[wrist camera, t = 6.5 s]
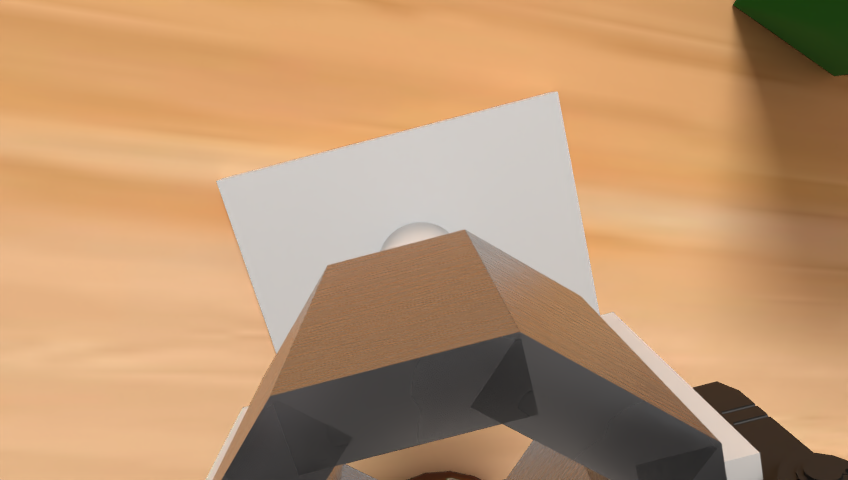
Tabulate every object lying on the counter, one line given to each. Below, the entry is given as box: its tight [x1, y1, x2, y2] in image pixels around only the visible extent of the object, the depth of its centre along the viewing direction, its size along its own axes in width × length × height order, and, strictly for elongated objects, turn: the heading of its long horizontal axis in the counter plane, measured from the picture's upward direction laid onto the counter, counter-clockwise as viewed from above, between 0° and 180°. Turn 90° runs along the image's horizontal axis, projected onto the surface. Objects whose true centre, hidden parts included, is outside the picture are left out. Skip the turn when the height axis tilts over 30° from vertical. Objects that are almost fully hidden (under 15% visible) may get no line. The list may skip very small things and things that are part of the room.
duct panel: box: [216, 92, 600, 354], centre depth 28 cm, size 18×14×7 cm
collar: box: [213, 229, 727, 480], centre depth 13 cm, size 9×9×7 cm
